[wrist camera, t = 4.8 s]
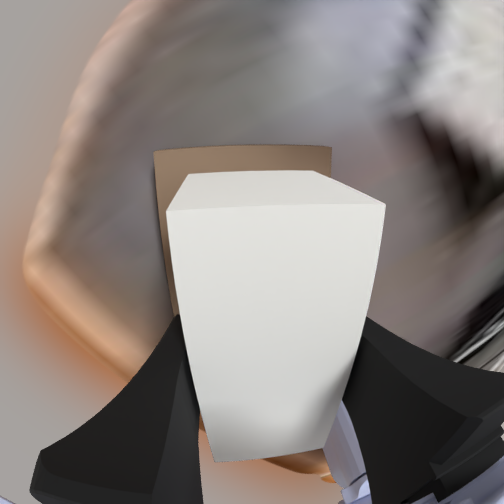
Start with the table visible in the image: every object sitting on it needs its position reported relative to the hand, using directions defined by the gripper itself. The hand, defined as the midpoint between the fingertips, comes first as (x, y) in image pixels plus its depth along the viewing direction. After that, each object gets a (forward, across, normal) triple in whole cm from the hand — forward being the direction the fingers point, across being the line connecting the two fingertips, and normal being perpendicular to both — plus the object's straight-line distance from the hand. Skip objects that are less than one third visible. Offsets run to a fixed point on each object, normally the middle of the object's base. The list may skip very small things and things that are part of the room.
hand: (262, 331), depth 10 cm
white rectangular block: (+2, 0, 0) cm, 2 cm away
